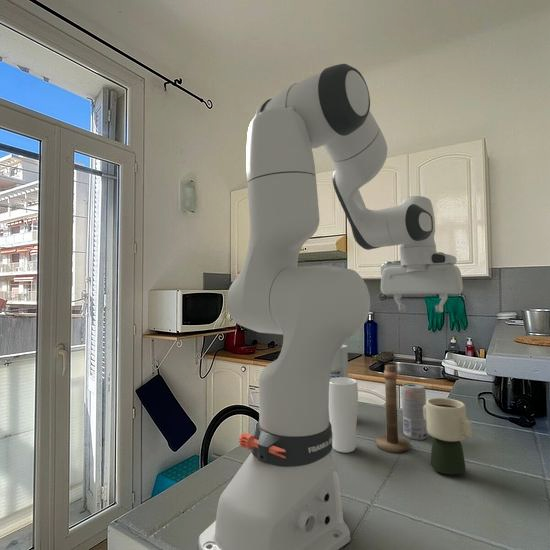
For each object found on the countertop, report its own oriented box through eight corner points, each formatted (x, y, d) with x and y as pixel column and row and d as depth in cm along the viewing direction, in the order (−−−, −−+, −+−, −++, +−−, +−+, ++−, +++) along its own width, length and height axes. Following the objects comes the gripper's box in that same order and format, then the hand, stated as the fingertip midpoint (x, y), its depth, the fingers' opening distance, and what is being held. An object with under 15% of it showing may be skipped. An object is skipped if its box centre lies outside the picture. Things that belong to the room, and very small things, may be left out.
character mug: (486, 479, 65) (483, 408, 65) (459, 488, 62) (456, 413, 63) (438, 455, 75) (435, 393, 75) (412, 461, 72) (410, 397, 73)
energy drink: (423, 431, 87) (421, 383, 88) (430, 440, 82) (428, 388, 83) (400, 431, 88) (399, 382, 88) (406, 440, 83) (405, 388, 83)
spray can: (321, 419, 97) (320, 346, 98) (332, 412, 102) (330, 343, 103) (342, 423, 93) (341, 348, 94) (353, 416, 98) (351, 345, 100)
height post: (402, 456, 74) (399, 370, 75) (371, 447, 79) (369, 366, 80) (413, 445, 80) (411, 365, 81) (384, 437, 84) (381, 361, 85)
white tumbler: (357, 457, 74) (355, 385, 75) (325, 452, 76) (324, 383, 77) (360, 444, 81) (358, 378, 81) (331, 440, 83) (330, 376, 84)
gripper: (375, 261, 97) (377, 311, 96) (456, 255, 84) (459, 313, 83) (385, 262, 102) (386, 310, 101) (463, 257, 88) (465, 311, 88)
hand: (420, 311), depth 92 cm, fingers open, 8 cm apart
